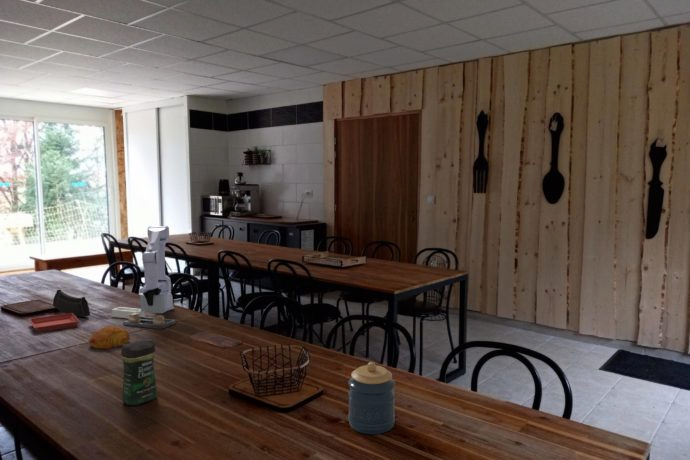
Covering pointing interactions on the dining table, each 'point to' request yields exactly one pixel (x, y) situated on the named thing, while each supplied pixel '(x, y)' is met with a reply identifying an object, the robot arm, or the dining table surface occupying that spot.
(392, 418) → the canister
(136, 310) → the holder
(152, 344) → the coffee jar
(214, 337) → the wooden tablet
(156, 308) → the chamfered blue-grey beam
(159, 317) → the birch offcut
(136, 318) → the birch offcut stack
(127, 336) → the croissant
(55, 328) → the plant saucer
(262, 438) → the dining table surface
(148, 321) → the rack
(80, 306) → the magazine
